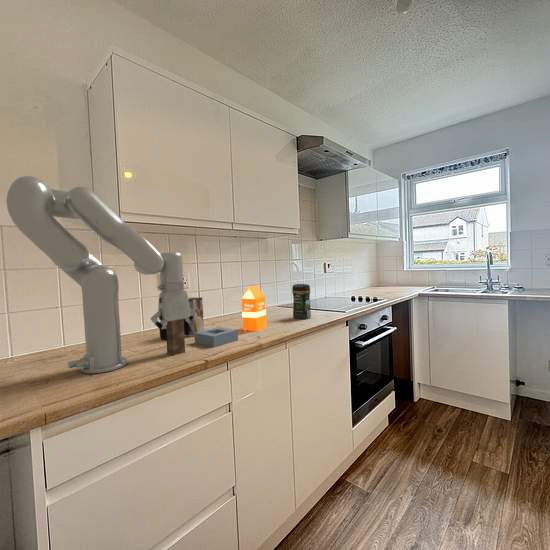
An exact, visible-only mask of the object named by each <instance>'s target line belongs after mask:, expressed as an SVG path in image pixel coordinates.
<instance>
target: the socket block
mask: <svg viewBox="0 0 550 550" xmlns="http://www.w3.org/2000/svg"><path fill="white" fill-rule="evenodd" d="M236 340H237V341H239V331H238V329H233V328H226V327H221V326H220V327H219V326H218V327H213V328H210V329H204V331H200V332H196V333H195V336H194V343H195V344H199V345H203V346H206V347H207V346H208V347H212V348H215V347H220V346H222V345H226V343H227V344H230V343H232V341H233V342H236ZM229 342H230V343H229Z"/></svg>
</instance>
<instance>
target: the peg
mask: <svg viewBox="0 0 550 550" xmlns="http://www.w3.org/2000/svg"><path fill="white" fill-rule="evenodd" d="M165 329H167V340H166V341H165V342H166V353H167V355H171V356H177V354H178V355H181V354H184V353H186V341H185V336H184V320H183V319H182V320H177V321H171V322H168V323H167V325H166V327H165Z"/></svg>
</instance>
